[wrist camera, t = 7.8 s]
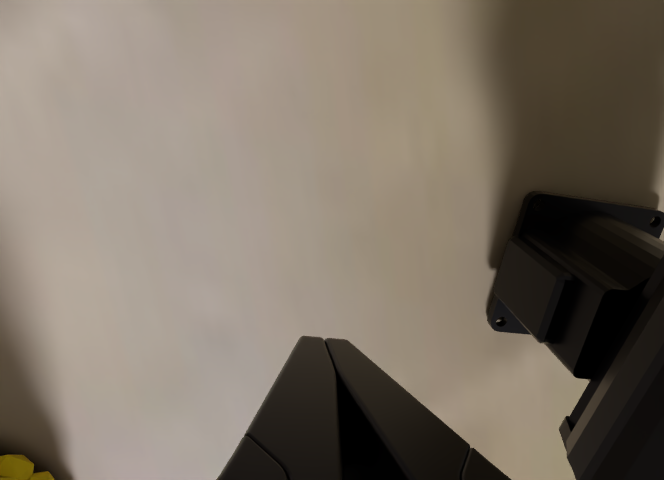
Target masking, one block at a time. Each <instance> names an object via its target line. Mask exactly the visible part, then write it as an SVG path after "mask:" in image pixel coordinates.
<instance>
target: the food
mask: <svg viewBox="0 0 664 480" xmlns="http://www.w3.org/2000/svg"><path fill="white" fill-rule="evenodd" d="M33 469H34V464H33V463H32V462H31V461H30V460H28V459H27V458H26V457H25V456H24V455H4V456H0V480H55V479H54V478H53V476H52V475H51V474H50V473H49V471H46V472H39V473H33Z"/></svg>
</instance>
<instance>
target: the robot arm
mask: <svg viewBox="0 0 664 480" xmlns="http://www.w3.org/2000/svg"><path fill="white" fill-rule="evenodd" d="M539 199H540V205H539V206H538V207H536V208H533V206H534V203H535V201H537V200H539ZM653 217H654V221H653V222H652V223H651V224H650V221H651V219H652V218H653ZM663 228H664V213H663V212H661V211H659V210H657V209H654V208H649V207H642V206H635V205H629V204H622V203H615V202H609V201H602V200H595V199H589V198H582V197H575V196H568V195H562V194H555V193H548V192H542V191H533V192H531V193H529V194H528V195H527V196H526V197H525V199H524V202H523V205H522V208H521V211H520V214H519V218H518V221H517V224H516V227H515V230H514V234H513V237H512V238H511V239H510V240H509V241H508V244H507V247H506V250H505V253H504V257H503V260H502V263H501V266H500V269H499V273H498V276H497V279H496V282H495V286H494V289H493V291H494V293H495V294H494V297H493V301H492V304H491V307H490V310H489V313H488V317H487V321H488V324H489V325H490V326H491V327H492V328H493V329H494V330H495V331H498V332H509V333H519V334H530V335H532V336H533V337H534V338H535V339H536V340H537V341H538V342H539V343H544V344H545V345H546V346H547V347H548V348H549V349H550V350H551V352H552V353H553V354H554V355H555V356H556V357H557V358H558V359H559V360H560V361H561V362H562V364H563V365H564V366H565V367H566V368H567V369H568V370H569V371H570V372H571V373H572V374H573V376H574V377H576V378H580V379H588V381H589V384H588V386H587V387H586V389H585V391H584V393H583V394H582V396H581V398H580V399H579V401H578V403H577V405H576V406H575V408H574V410H573V411H572V413H571V415H570V416H566V417H565V419H564V420H563V422H562V424H561V426H560V427H559V431H560V434H561V437H562V440H563V443H564V446H565V448H566V451H567V459H568V461H569V463H570V465H571V467H572V469H573V472H574V475H575V478H576V480H664V241H662V240H660V239H659V238H660V235H661V233H662V230H663ZM500 317H503V319H502V320H501V321H500V322H496V321H497V319H498V318H500ZM216 480H511V479H510V478H509V477H508V476H506V475H505V474H504V473H503V472H501V471H500V470H499V469H498V468H497V467H495V466H494V465H493V464H492V463H490V462H489V461H488V460H487V459H486V458H485V457H483V456H482V455H481V454H480V453H479V452H478V451H476V450H475V449H474V448H470V445H469V444H468V443H467V442H466V441H465V440H463V439H462V438H461V437H460V436H459V435H458V434H456V433H455V432H454V431H453V430H452V429H451V428H449V427H448V426H447V425H446V424H445V423H444V422H442V421H441V420H440V419H439V418H438V417H437V416H435V415H434V414H433V413H432V412H431V411H430V410H428V409H427V408H426V407H425V406H424V405H423V404H421V403H420V402H419V401H418V400H417V399H416V398H414V397H413V396H412V395H411V394H410V393H409V392H407V391H406V390H405V389H404V388H403V387H402V386H400V385H399V384H398V383H397V382H396V381H395V380H393V379H392V378H391V377H390V376H389V375H388V374H386V373H385V372H384V371H383V370H382V369H381V368H379V367H378V366H377V365H376V364H375V363H374V362H372V361H371V360H370V359H369V358H368V357H367V356H365V355H364V354H363V353H362V352H361V351H360V350H358V349H357V348H356V347H355V346H354V345H352V344H351V343H350V342H349V341H348V340H345V339H334V338H327V339H325V340H324V339H323V338H321V337H311V336H302V337H300V339H299V340H298V342H297V344H296V345H295V347H294V349H293V351H292V352H291V354H290V356H289V358H288V359H287V361H286V363H285V365H284V366H283V368H282V370H281V372H280V374H279V375H278V377H277V379H276V381H275V382H274V384H273V386H272V388H271V389H270V391H269V393H268V395H267V396H266V398H265V400H264V402H263V403H262V405H261V407H260V409H259V410H258V412H257V414H256V416H255V417H254V419H253V421H252V423H251V424H250V426H249V428H248V430H247V431H246V433H245V435H244V437H243V438H242V440H241V441H240V443H239V445H238V447H237V448H236V450H235V452H234V453H233V455H232V457H231V458H230V460H229V461H228V463H227V464H226V466H225V468H224V469H223V471H222V472H221V474H220V475H219V477H218V478H217V479H216Z"/></svg>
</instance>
